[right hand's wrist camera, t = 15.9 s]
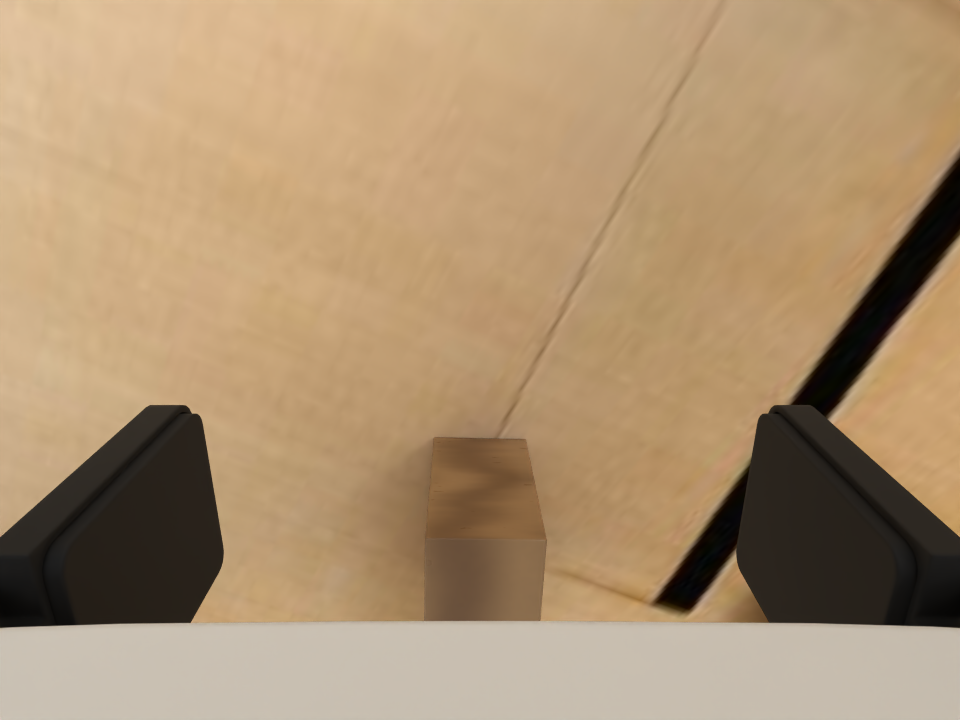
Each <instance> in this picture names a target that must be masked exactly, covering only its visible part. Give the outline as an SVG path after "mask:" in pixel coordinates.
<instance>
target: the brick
mask: <svg viewBox="0 0 960 720" xmlns="http://www.w3.org/2000/svg"><path fill="white" fill-rule="evenodd" d="M546 543H547V539H546V535H545V530H544V525H543V520H542V515H541V511H540V506H539V501H538V496H537V492H536V487H535V482H534V477H533V472H532V468H531V463H530V458H529V453H528V448H527V444H526V440H525V439H479V438H434V443H433V454H432V465H431V477H430V488H429V500H428V511H427V523H426V534H425V612H424V621H540V617H541V605H542V592H543V580H544V568H545V555H546Z"/></svg>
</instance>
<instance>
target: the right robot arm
mask: <svg viewBox="0 0 960 720" xmlns="http://www.w3.org/2000/svg"><path fill="white" fill-rule="evenodd" d="M223 555H224V550H223V542H222V536H221V530H220V524H219V518H218V512H217V506H216V500H215V494H214V488H213V482H212V476H211V470H210V464H209V459H208V453H207V447H206V441H205V435H204V429H203V423H202V419H201V417H200V416H199V415H198V414H192V413H191V411H190V409H189V408H188V407H187V406H185V405H150V406H148V407H146V408H145V409H144V410H143V411H142V412H140V413H139V414H138V415H137V416H136V417H135V418H134V419H133V420H131V421H130V422H129V423H128V424H127V425H126V426H125V427H124V428H122V429H121V430H120V431H119V432H118V433H117V434H116V435H115V436H114V437H112V438H111V439H110V440H109V441H108V442H107V443H106V444H105V445H103V446H102V447H101V448H100V449H99V450H98V451H97V452H96V453H94V454H93V455H92V456H91V457H90V458H89V459H88V460H87V461H85V462H84V463H83V464H82V465H81V466H80V467H79V468H78V469H76V470H75V471H74V472H73V473H72V474H71V475H70V476H69V477H67V478H66V479H65V480H64V481H63V482H62V483H61V484H60V485H58V486H57V487H56V488H55V489H54V490H53V491H52V492H51V493H49V494H48V495H47V496H46V497H45V498H44V499H43V500H42V501H40V502H39V503H38V504H37V505H36V506H35V507H34V508H33V509H31V510H30V511H29V512H28V513H27V514H26V515H25V516H24V517H22V518H21V519H20V520H19V521H18V522H17V523H16V524H15V525H13V526H12V527H11V528H10V529H9V530H8V531H7V532H6V533H5V534H3V535H2V536H1V537H0V720H960V537H959V536H958V535H957V534H955V533H954V532H953V531H952V530H951V529H950V528H949V527H948V526H947V525H945V524H944V523H943V522H942V521H941V520H940V519H939V518H938V517H936V516H935V515H934V514H933V513H932V512H931V511H930V510H929V509H927V508H926V507H925V506H924V505H923V504H922V503H921V502H920V501H918V500H917V499H916V498H915V497H914V496H913V495H912V494H911V493H909V492H908V491H907V490H906V489H905V488H904V487H903V486H902V485H900V484H899V483H898V482H897V481H896V480H895V479H894V478H893V477H891V476H890V475H889V474H888V473H887V472H886V471H885V470H884V469H882V468H881V467H880V466H879V465H878V464H877V463H876V462H875V461H873V460H872V459H871V458H870V457H869V456H868V455H867V454H866V453H864V452H863V451H862V450H861V449H860V448H859V447H858V446H857V445H855V444H854V443H853V442H852V441H851V440H850V439H849V438H848V437H846V436H845V435H844V434H843V433H842V432H841V431H840V430H839V429H838V428H836V427H835V426H834V425H833V424H832V423H831V422H830V421H829V420H827V419H826V418H825V417H824V416H823V415H822V414H821V413H820V412H818V411H817V410H816V409H815V408H814V407H812V406H810V405H775V406H773V407H772V408H771V409H770V411H769V413H768V414H762V415H761V416H760V417H759V419H758V423H757V429H756V435H755V441H754V447H753V453H752V459H751V464H750V470H749V476H748V482H747V488H746V494H745V500H744V506H743V512H742V518H741V524H740V530H739V536H738V542H737V550H736V555H737V563H738V566H739V569H740V571H741V573H742V575H743V577H744V579H745V580H746V582H747V584H748V586H749V587H750V589H751V591H752V593H753V594H754V596H755V598H756V600H757V602H758V603H759V605H760V607H761V609H762V610H763V612H764V614H765V616H766V617H767V619H768V621H769V623H719V622H606V621H330V622H240V623H191V621H192V619H193V617H194V616H195V614H196V612H197V610H198V609H199V607H200V605H201V603H202V602H203V600H204V598H205V596H206V594H207V593H208V591H209V589H210V587H211V586H212V584H213V582H214V580H215V579H216V577H217V575H218V573H219V571H220V569H221V566H222V563H223Z"/></svg>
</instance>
